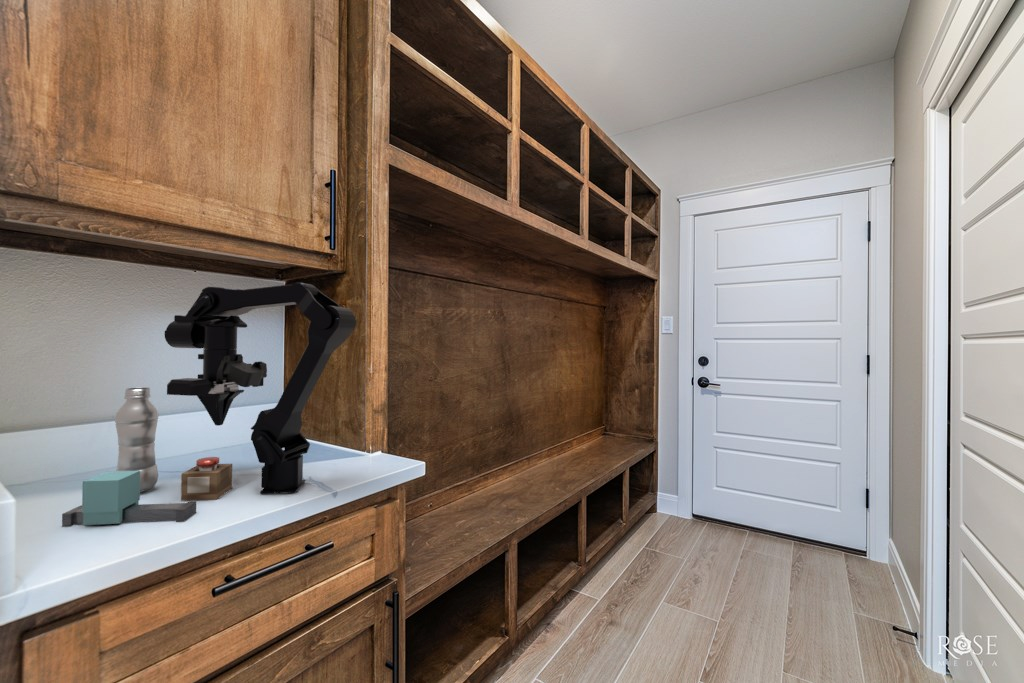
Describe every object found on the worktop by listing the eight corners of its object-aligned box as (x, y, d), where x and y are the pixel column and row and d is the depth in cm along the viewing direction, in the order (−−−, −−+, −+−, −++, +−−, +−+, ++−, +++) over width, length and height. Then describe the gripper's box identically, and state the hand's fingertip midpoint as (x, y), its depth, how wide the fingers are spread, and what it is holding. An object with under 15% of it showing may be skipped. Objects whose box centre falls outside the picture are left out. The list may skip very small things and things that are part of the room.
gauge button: (222, 484, 86) (222, 456, 86) (212, 491, 82) (213, 461, 82) (202, 485, 85) (202, 457, 85) (191, 491, 82) (192, 462, 82)
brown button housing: (231, 488, 87) (232, 463, 87) (215, 500, 81) (216, 473, 81) (198, 489, 86) (199, 464, 86) (179, 501, 80) (180, 474, 80)
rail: (196, 512, 75) (196, 501, 75) (183, 521, 72) (184, 509, 72) (80, 517, 72) (80, 505, 72) (62, 526, 69) (62, 514, 69)
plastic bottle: (166, 485, 88) (168, 386, 88) (139, 498, 81) (140, 390, 81) (133, 485, 88) (135, 386, 88) (103, 497, 81) (105, 390, 81)
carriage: (139, 511, 74) (140, 470, 74) (117, 524, 69) (118, 480, 69) (106, 513, 74) (106, 471, 74) (81, 525, 69) (82, 481, 69)
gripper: (218, 351, 79) (217, 437, 79) (286, 349, 98) (284, 419, 98) (165, 349, 81) (163, 434, 81) (241, 348, 99) (239, 416, 99)
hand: (218, 425), depth 90 cm, fingers closed
